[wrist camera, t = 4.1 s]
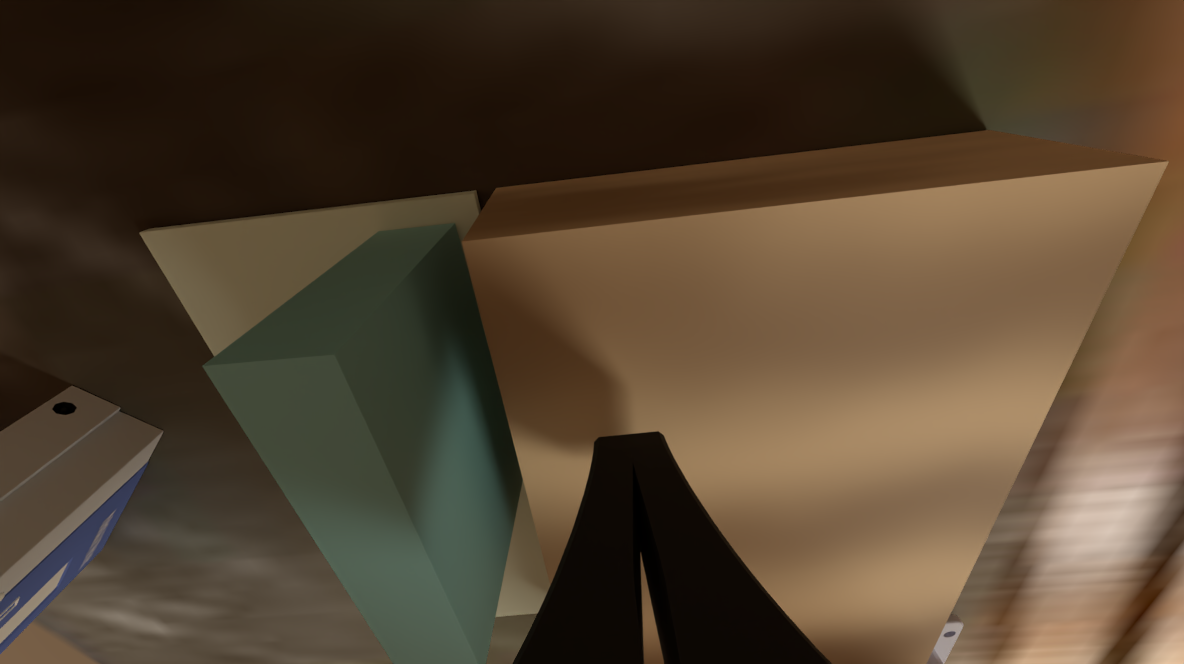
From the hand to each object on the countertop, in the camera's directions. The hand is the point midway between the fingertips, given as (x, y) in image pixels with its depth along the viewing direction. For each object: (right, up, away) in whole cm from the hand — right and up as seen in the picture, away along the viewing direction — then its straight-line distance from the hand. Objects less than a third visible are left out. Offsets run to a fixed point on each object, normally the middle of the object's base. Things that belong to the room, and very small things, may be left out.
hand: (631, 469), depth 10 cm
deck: (+4, -1, +6) cm, 7 cm away
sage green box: (-4, 0, +2) cm, 4 cm away
